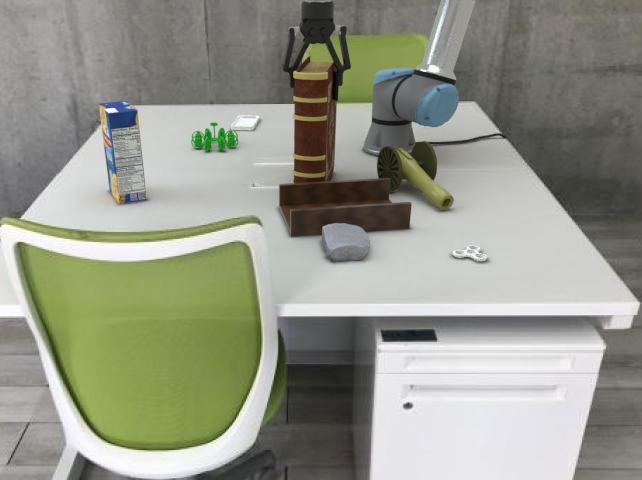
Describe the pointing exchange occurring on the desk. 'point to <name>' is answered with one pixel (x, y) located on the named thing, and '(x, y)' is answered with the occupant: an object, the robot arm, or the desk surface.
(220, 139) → the chandelier
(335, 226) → the stone block
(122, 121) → the beverage box
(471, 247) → the fidget spinner
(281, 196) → the book rack
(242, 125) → the phone case
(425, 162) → the cannon
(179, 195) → the desk surface
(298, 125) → the decorative book
